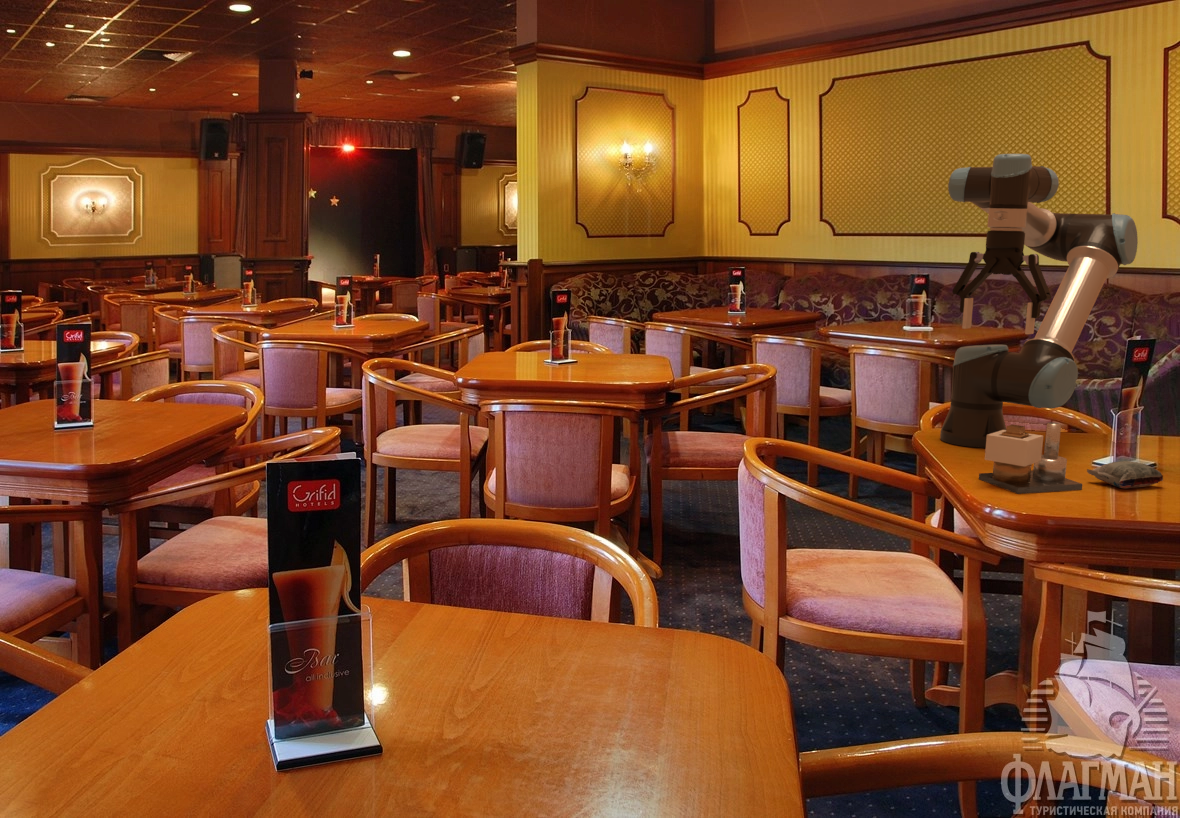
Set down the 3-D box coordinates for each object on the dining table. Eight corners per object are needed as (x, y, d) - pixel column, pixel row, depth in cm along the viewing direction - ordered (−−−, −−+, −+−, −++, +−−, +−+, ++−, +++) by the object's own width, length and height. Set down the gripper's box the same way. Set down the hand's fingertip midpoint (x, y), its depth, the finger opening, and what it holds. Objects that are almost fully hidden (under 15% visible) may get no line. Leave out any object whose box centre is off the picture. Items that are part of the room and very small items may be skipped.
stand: (1036, 472, 221) (1041, 419, 219) (1067, 476, 218) (1072, 423, 216) (1029, 478, 216) (1035, 424, 215) (1062, 482, 213) (1067, 427, 211)
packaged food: (1085, 482, 220) (1088, 458, 219) (1129, 478, 224) (1132, 455, 223) (1120, 493, 212) (1123, 469, 211) (1165, 489, 216) (1168, 465, 215)
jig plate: (1040, 475, 224) (1041, 469, 224) (1082, 489, 213) (1082, 483, 213) (978, 479, 220) (979, 473, 220) (1017, 493, 209) (1018, 487, 208)
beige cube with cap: (984, 459, 214) (986, 434, 213) (1001, 453, 220) (1003, 429, 219) (1024, 466, 208) (1027, 441, 208) (1041, 460, 214) (1043, 435, 213)
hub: (986, 479, 215) (991, 425, 213) (1001, 473, 220) (1005, 421, 218) (1021, 485, 210) (1026, 431, 208) (1035, 479, 215) (1040, 426, 213)
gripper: (941, 228, 232) (934, 327, 236) (1060, 231, 215) (1050, 337, 219) (957, 228, 237) (949, 325, 241) (1074, 231, 220) (1063, 335, 224)
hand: (997, 331), depth 230 cm, fingers open, 13 cm apart
